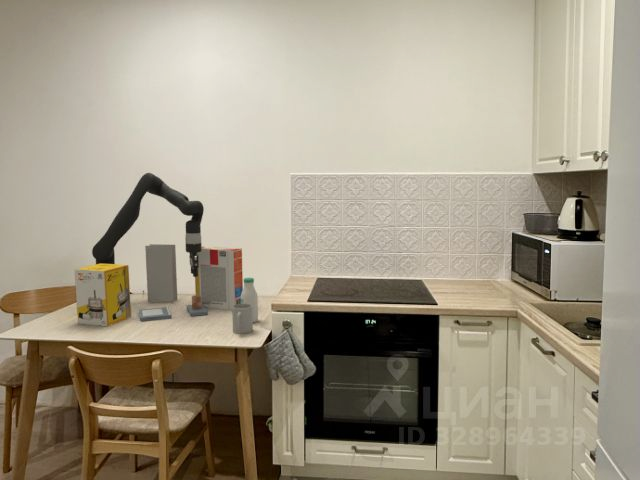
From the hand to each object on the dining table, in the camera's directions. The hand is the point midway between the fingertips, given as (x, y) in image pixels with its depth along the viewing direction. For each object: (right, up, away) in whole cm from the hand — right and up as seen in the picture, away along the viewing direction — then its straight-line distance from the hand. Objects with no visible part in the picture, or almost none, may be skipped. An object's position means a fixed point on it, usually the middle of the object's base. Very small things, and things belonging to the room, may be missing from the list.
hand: (194, 275), depth 252 cm
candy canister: (+29, -20, -15) cm, 38 cm away
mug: (+28, -22, -31) cm, 48 cm away
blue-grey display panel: (-18, -19, -5) cm, 27 cm away
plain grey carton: (-23, -16, +25) cm, 37 cm away
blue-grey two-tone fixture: (+1, -18, +2) cm, 18 cm away
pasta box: (+10, -17, +12) cm, 23 cm away
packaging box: (-38, -20, -12) cm, 45 cm away
